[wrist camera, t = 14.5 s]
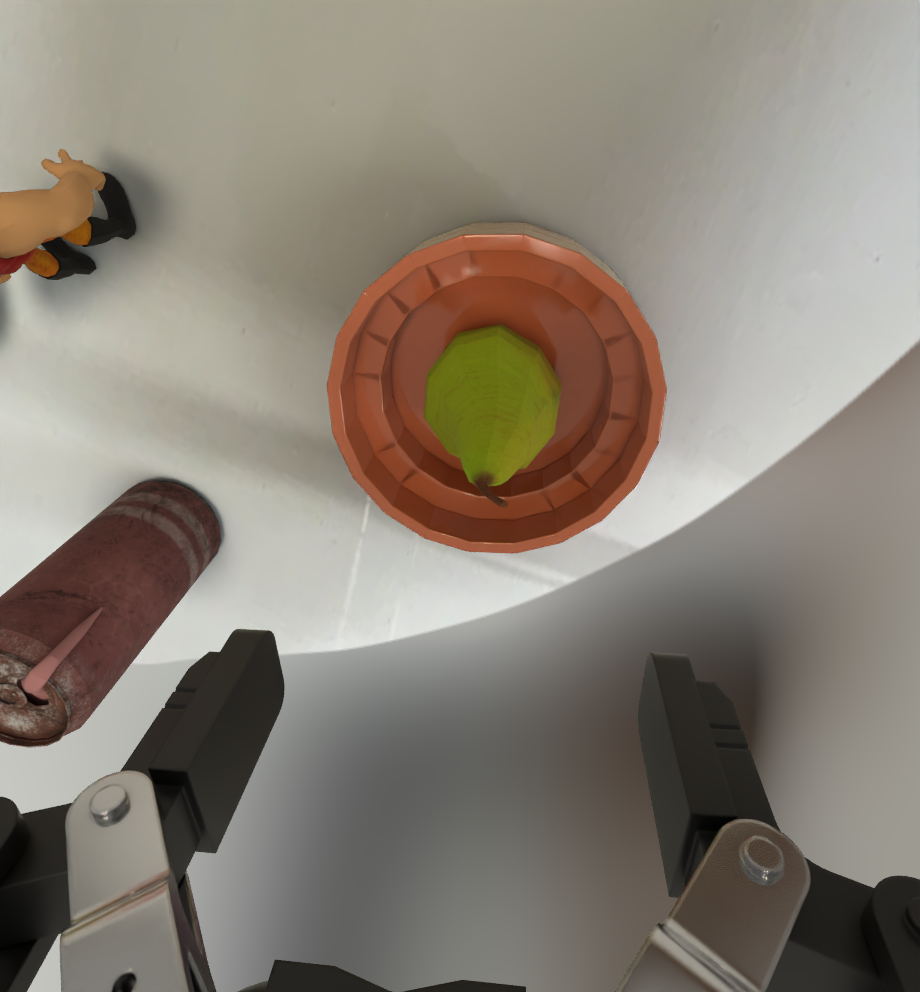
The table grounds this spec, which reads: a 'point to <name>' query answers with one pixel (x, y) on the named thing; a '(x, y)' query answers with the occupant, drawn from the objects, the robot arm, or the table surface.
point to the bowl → (537, 317)
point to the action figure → (61, 221)
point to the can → (97, 608)
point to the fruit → (492, 403)
